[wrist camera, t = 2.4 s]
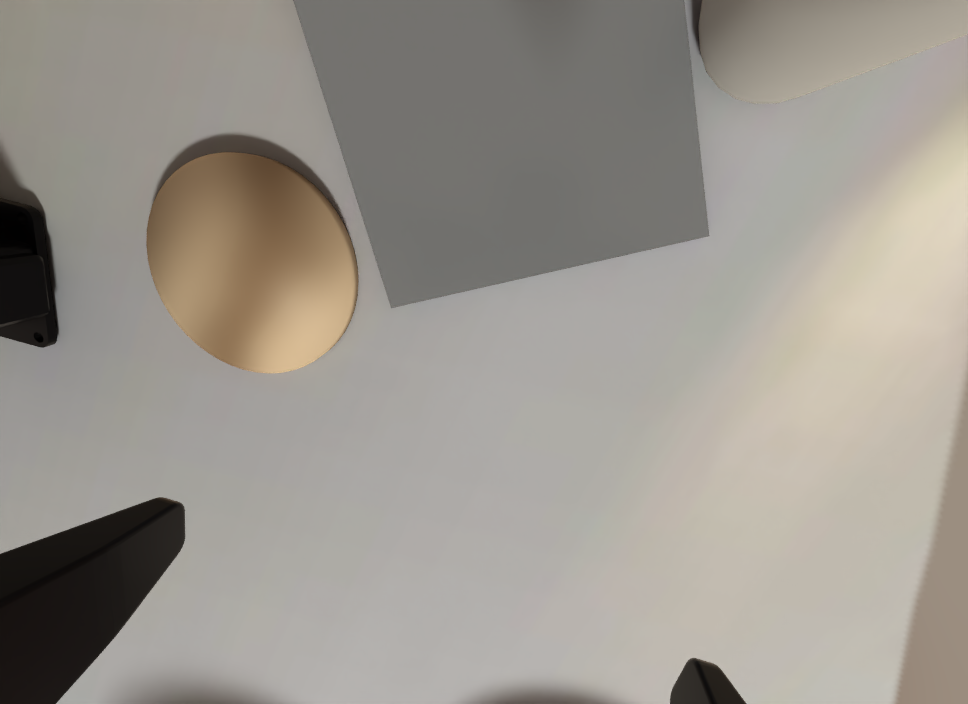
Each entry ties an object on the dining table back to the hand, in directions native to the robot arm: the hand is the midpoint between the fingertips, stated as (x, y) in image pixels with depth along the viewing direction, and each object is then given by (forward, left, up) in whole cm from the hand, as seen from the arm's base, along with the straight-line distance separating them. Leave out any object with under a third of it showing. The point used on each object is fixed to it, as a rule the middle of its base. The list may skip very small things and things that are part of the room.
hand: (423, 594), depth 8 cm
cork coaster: (-11, +1, -12) cm, 16 cm away
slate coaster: (-2, +9, -12) cm, 15 cm away
